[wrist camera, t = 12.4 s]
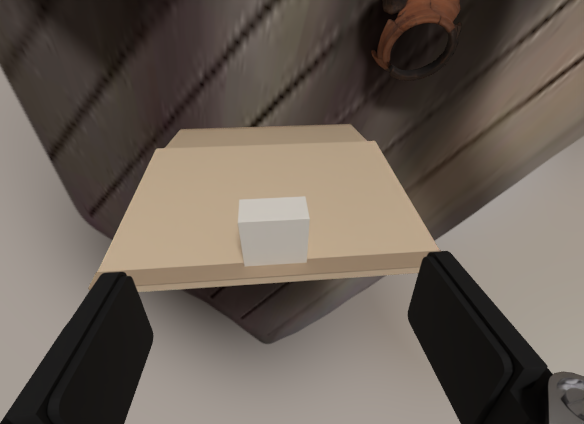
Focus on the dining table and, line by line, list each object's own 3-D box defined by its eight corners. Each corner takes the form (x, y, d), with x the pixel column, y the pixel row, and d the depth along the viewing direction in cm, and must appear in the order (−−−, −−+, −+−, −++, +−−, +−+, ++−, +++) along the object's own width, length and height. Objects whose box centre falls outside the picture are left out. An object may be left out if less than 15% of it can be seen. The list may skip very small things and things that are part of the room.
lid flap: (373, 146, 32) (383, 103, 29) (445, 271, 20) (474, 221, 17) (158, 153, 30) (143, 109, 27) (93, 295, 18) (54, 244, 15)
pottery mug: (464, 5, 35) (484, 49, 31) (390, 60, 41) (399, 102, 37) (412, -94, 28) (429, -54, 24) (332, -9, 34) (336, 34, 30)
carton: (350, 124, 40) (371, 145, 32) (341, 225, 48) (356, 261, 40) (180, 129, 38) (160, 153, 31) (201, 232, 46) (189, 272, 39)
